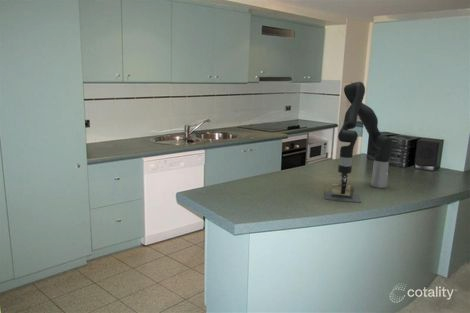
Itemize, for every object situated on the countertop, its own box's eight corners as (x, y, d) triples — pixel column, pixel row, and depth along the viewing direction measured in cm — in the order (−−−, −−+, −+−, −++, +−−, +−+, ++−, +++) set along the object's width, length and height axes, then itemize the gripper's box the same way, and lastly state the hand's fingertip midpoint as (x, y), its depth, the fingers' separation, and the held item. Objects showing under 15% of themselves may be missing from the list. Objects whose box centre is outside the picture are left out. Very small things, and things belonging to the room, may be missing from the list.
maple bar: (331, 191, 241) (332, 183, 240) (352, 193, 239) (353, 185, 238) (332, 194, 237) (332, 185, 236) (353, 195, 234) (354, 187, 233)
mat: (358, 195, 243) (358, 194, 243) (361, 203, 229) (361, 202, 229) (324, 192, 247) (324, 191, 247) (325, 199, 233) (325, 198, 233)
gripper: (338, 161, 241) (335, 188, 245) (339, 166, 228) (336, 195, 231) (351, 162, 240) (348, 189, 244) (353, 167, 226) (350, 196, 230)
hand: (342, 192), depth 238 cm, fingers closed on maple bar, 4 cm apart
